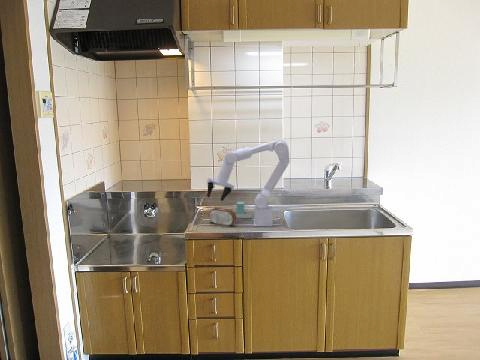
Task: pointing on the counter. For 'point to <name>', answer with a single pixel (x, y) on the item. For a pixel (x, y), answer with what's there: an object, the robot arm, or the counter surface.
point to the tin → (222, 216)
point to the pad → (243, 216)
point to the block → (240, 207)
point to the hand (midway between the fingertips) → (214, 198)
